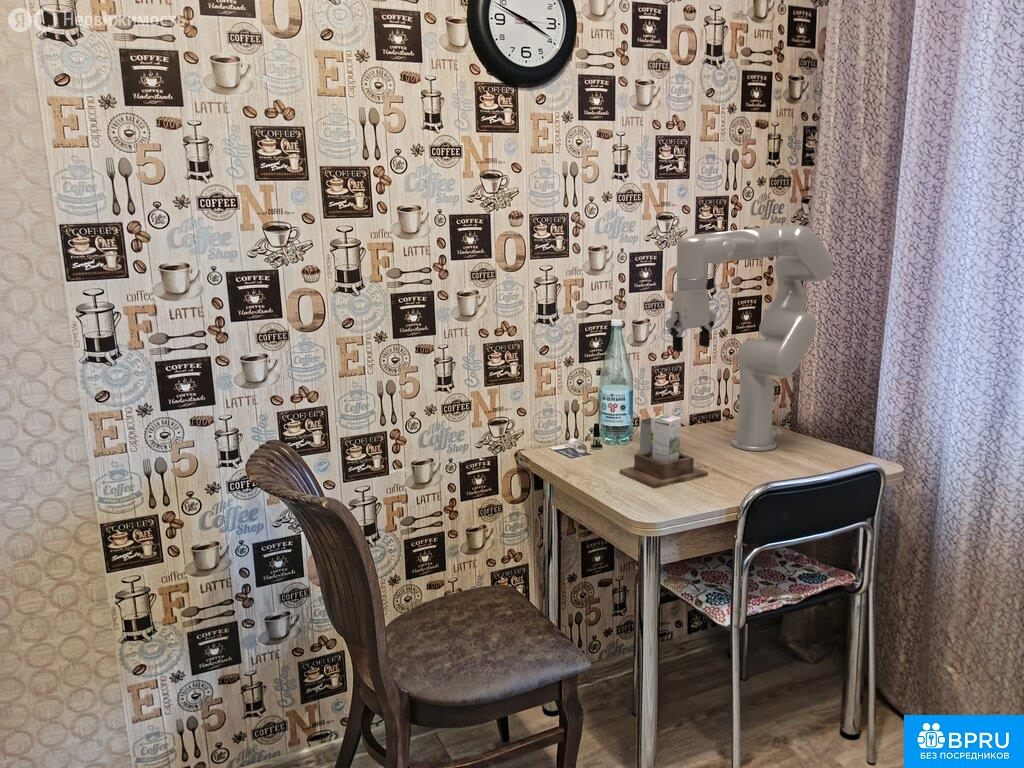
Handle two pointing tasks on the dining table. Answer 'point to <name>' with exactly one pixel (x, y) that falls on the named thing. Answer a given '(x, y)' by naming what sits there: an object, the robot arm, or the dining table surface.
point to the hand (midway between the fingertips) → (691, 348)
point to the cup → (645, 435)
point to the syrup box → (665, 438)
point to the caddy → (662, 470)
